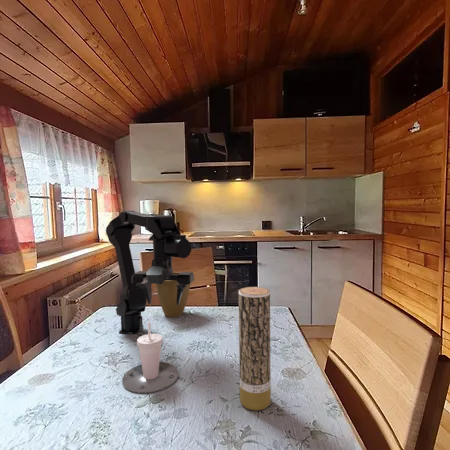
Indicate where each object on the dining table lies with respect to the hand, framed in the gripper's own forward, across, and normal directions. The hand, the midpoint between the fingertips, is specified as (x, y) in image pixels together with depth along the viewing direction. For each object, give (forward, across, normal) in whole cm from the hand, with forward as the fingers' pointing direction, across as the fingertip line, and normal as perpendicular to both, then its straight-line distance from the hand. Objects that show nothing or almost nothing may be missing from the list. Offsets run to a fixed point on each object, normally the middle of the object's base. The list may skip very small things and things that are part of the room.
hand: (163, 304), depth 98 cm
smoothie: (+13, +3, -19) cm, 23 cm away
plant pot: (+13, -6, +28) cm, 32 cm away
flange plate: (+13, +3, -19) cm, 23 cm away
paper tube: (+13, +30, -26) cm, 42 cm away
